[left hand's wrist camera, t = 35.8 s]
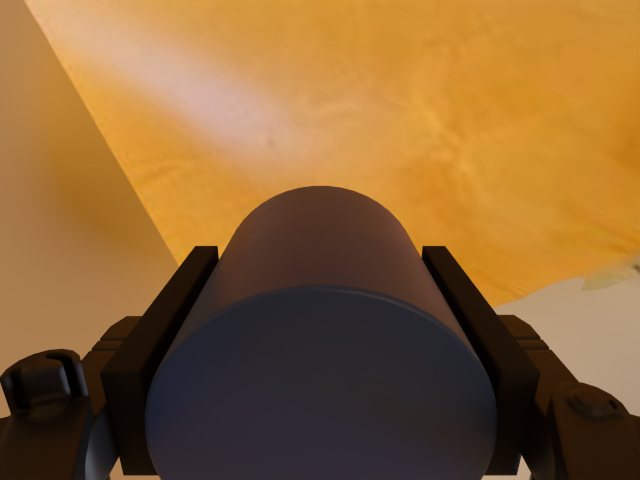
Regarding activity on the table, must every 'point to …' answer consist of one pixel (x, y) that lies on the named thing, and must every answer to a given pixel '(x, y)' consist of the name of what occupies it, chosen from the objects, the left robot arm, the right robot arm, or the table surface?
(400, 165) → the table surface
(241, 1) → the table surface
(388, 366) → the cylinder
